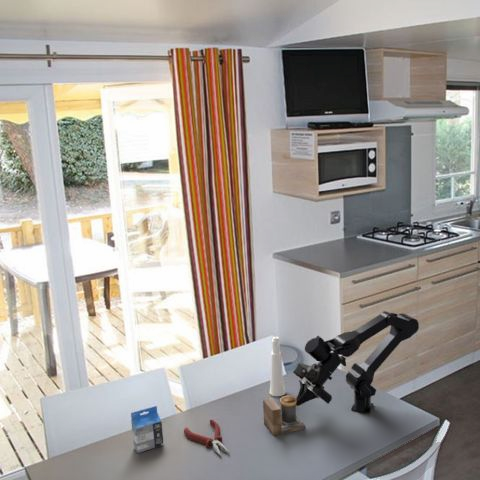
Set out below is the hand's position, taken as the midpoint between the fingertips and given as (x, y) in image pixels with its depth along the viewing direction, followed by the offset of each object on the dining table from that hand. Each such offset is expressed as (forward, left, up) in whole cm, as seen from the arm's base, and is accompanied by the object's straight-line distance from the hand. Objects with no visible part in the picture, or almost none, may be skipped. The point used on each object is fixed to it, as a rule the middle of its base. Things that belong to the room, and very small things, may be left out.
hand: (296, 404), depth 193 cm
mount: (+4, -4, -7) cm, 9 cm away
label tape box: (+30, -39, -7) cm, 50 cm away
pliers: (+21, -23, -8) cm, 32 cm away
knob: (+2, -2, -5) cm, 6 cm away
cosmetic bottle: (-18, -14, -7) cm, 24 cm away
